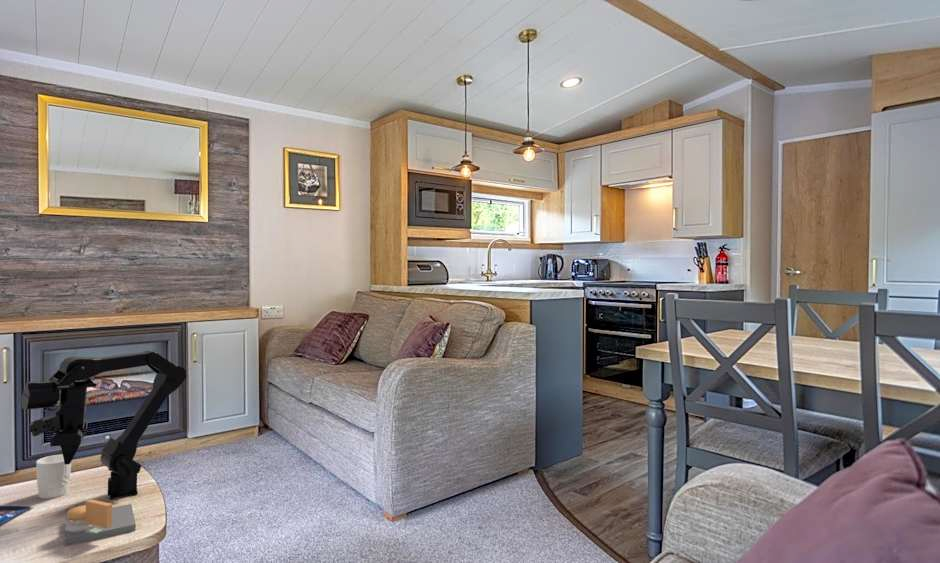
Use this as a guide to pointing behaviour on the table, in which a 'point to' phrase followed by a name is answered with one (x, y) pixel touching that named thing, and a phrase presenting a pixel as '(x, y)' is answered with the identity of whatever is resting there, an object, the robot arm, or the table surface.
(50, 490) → the white cup
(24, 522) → the table surface
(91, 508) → the lever cap
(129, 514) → the base
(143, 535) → the table surface
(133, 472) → the robot arm
